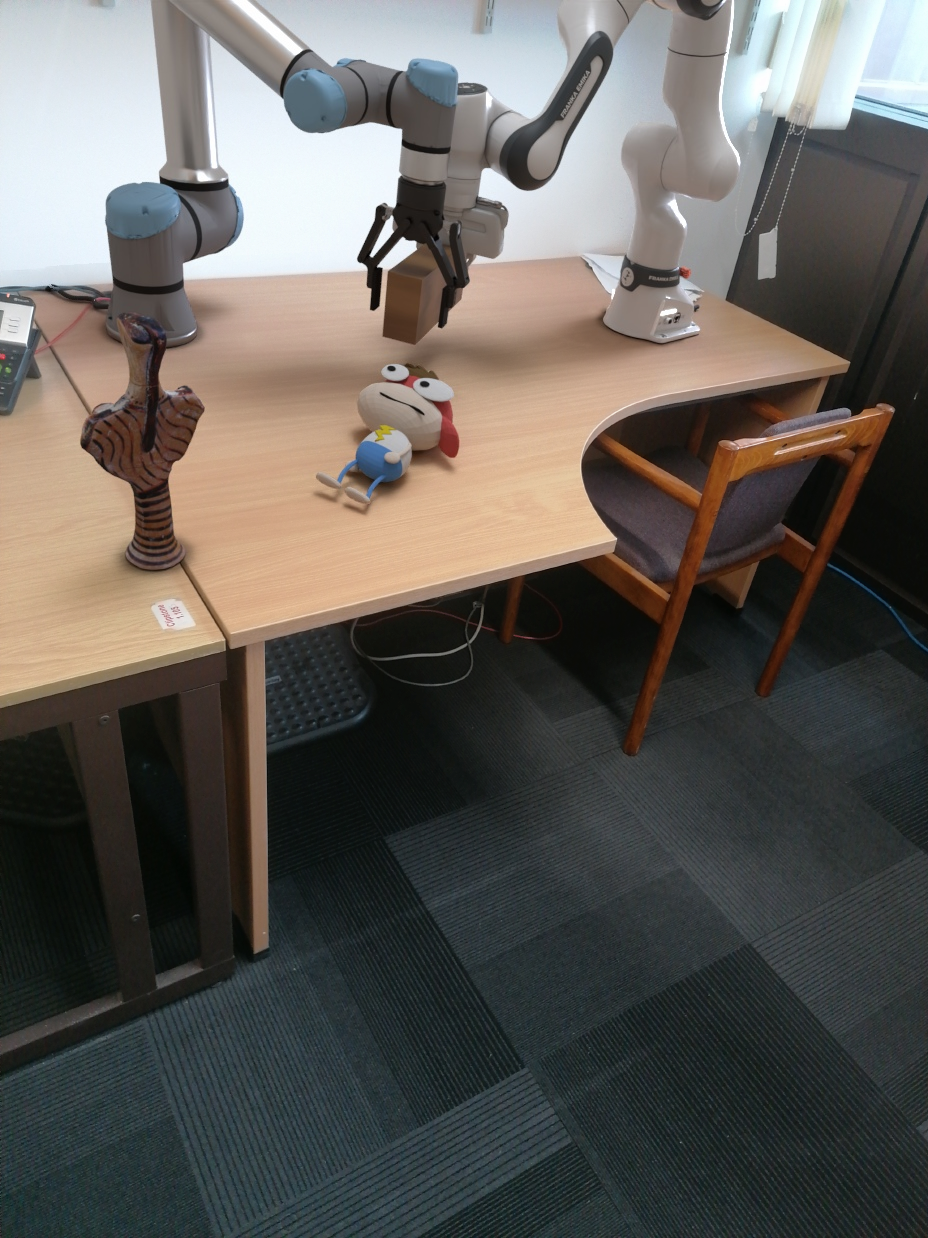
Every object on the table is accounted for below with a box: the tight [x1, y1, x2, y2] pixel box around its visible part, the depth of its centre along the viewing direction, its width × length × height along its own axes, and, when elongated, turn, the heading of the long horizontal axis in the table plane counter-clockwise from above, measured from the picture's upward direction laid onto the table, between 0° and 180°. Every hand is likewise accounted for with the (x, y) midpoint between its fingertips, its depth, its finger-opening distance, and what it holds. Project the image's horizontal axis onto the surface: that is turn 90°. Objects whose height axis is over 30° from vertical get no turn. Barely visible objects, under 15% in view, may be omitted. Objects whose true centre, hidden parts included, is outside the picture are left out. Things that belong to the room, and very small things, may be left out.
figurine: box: [79, 312, 206, 571], centre depth 99 cm, size 15×8×30 cm, turn 144°
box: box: [381, 243, 468, 346], centre depth 156 cm, size 26×6×11 cm, turn 163°
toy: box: [315, 362, 460, 505], centre depth 132 cm, size 18×10×30 cm
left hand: (408, 316), depth 150 cm, fingers open, 11 cm apart
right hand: (443, 271), depth 163 cm, fingers closed on box, 6 cm apart
